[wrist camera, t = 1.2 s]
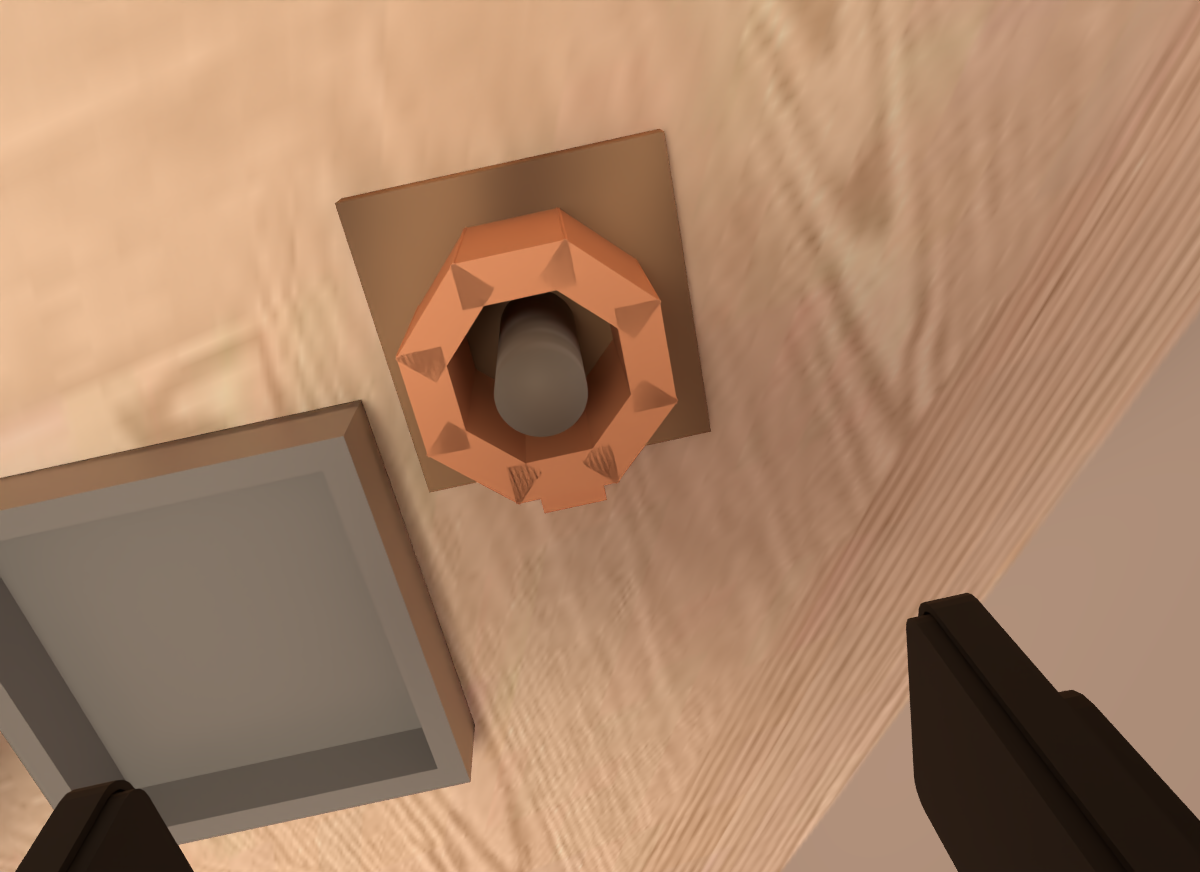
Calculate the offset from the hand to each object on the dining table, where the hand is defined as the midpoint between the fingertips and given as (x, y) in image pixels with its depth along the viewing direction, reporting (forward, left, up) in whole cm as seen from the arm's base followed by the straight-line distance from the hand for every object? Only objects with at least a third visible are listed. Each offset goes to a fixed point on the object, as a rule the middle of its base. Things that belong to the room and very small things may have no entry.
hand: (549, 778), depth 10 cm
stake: (0, 0, -19) cm, 19 cm away
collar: (0, 0, -18) cm, 18 cm away
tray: (+14, +9, -19) cm, 25 cm away
